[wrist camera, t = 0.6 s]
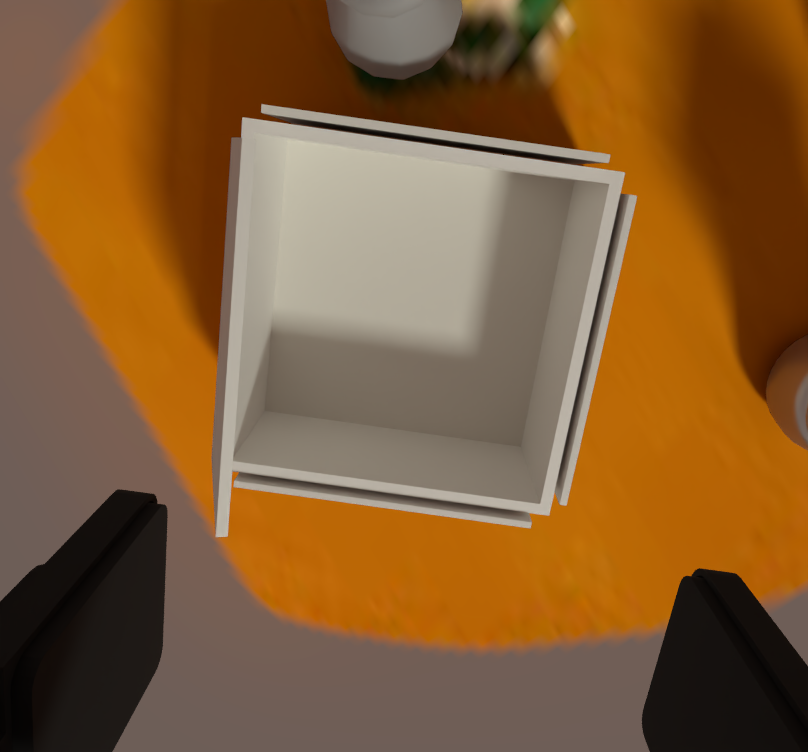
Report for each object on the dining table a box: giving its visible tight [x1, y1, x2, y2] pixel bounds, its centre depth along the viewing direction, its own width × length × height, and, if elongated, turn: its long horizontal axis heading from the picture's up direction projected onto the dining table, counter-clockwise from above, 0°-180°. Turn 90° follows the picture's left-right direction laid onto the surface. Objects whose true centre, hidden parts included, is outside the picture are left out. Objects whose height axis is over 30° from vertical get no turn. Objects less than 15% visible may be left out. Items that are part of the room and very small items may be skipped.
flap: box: [212, 137, 256, 537], centre depth 25 cm, size 13×6×1 cm
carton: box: [232, 104, 637, 528], centre depth 32 cm, size 16×16×7 cm
